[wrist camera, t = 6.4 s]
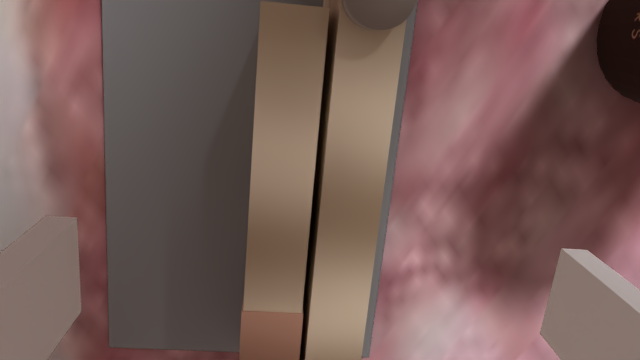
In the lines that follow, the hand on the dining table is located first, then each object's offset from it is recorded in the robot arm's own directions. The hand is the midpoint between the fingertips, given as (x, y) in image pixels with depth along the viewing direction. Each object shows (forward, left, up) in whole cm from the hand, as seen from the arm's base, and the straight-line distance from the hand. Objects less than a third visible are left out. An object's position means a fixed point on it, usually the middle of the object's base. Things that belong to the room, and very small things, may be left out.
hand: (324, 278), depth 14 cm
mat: (0, -3, -11) cm, 11 cm away
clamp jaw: (+1, -1, -10) cm, 10 cm away
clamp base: (-1, +1, -10) cm, 10 cm away
